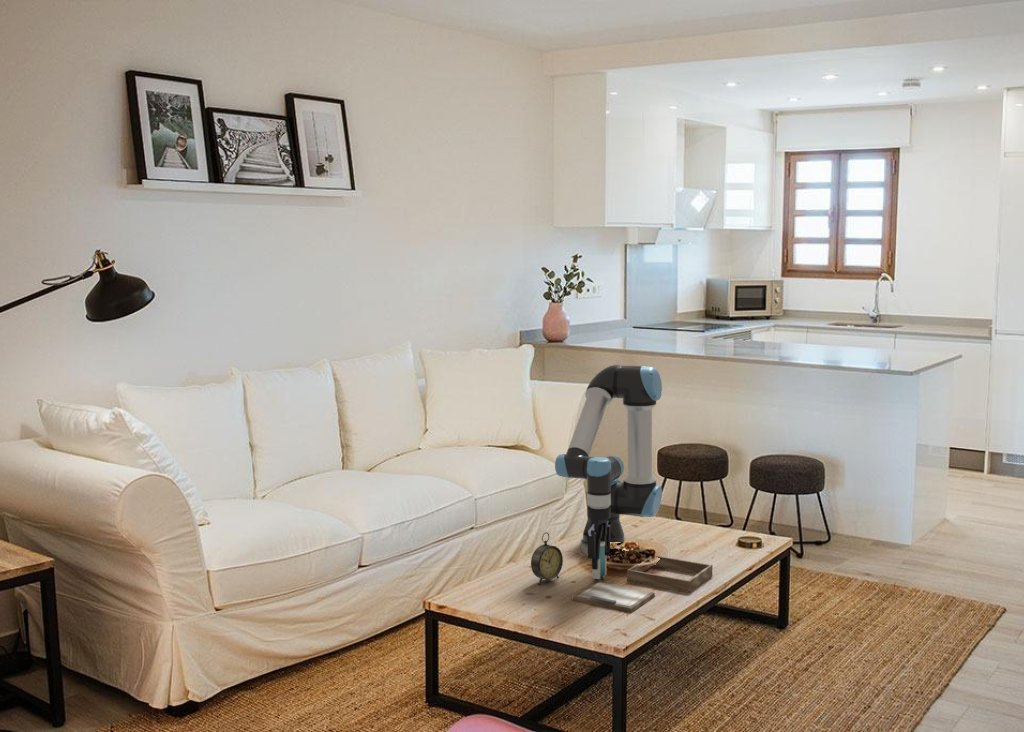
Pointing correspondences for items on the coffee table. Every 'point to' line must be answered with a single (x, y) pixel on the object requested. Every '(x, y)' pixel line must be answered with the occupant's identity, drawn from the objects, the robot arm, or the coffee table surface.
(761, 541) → the coffee table surface
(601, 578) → the cylinder
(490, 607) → the coffee table surface
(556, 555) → the alarm clock
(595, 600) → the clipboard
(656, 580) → the gray brown tray
